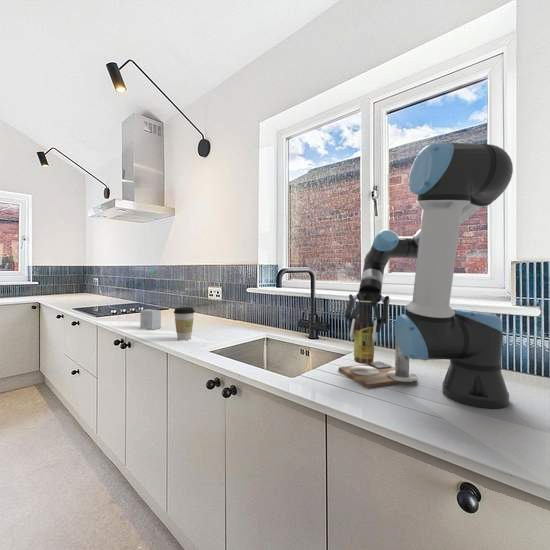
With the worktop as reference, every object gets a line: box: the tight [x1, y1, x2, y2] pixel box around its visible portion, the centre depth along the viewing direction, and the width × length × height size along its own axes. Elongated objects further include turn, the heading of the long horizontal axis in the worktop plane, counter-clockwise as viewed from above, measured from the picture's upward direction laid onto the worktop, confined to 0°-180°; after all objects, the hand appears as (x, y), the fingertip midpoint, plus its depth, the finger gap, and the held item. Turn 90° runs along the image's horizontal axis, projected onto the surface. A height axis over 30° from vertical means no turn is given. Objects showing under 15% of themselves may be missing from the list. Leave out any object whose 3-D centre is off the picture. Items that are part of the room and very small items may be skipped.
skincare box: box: [139, 308, 162, 330], centre depth 178 cm, size 10×6×10 cm, turn 60°
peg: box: [394, 339, 410, 378], centre depth 95 cm, size 4×4×14 cm
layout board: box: [338, 360, 419, 389], centre depth 98 cm, size 18×18×2 cm
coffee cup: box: [173, 306, 196, 341], centre depth 150 cm, size 10×10×15 cm
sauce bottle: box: [353, 300, 375, 365], centre depth 101 cm, size 6×6×20 cm
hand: (362, 338), depth 97 cm, fingers closed on sauce bottle, 6 cm apart
